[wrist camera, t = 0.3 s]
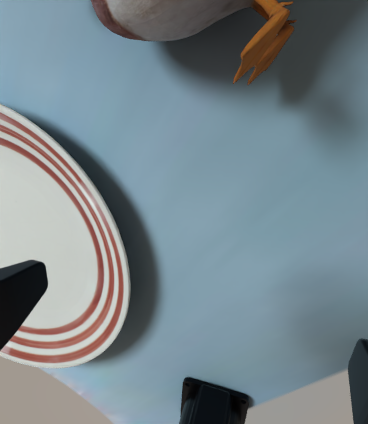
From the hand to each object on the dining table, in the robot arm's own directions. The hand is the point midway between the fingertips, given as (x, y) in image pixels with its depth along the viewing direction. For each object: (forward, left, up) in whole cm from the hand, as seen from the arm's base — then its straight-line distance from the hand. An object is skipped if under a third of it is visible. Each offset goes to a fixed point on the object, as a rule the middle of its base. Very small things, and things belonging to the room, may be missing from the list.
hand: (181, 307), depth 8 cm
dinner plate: (-10, +21, -14) cm, 27 cm away
